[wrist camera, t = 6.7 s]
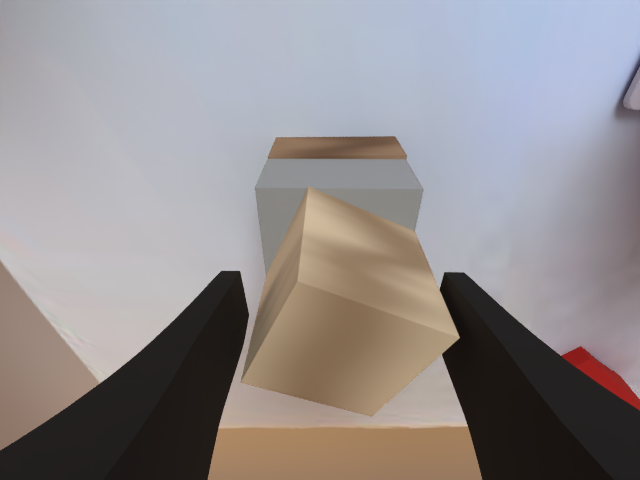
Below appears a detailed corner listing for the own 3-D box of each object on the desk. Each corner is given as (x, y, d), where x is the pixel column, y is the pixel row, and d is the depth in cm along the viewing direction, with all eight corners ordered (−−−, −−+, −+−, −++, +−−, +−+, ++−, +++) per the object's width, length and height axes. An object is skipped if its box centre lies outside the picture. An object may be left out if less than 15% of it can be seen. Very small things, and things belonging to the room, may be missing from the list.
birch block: (414, 231, 12) (460, 337, 8) (358, 305, 14) (371, 416, 10) (308, 186, 11) (297, 281, 7) (266, 273, 13) (240, 382, 9)
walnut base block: (394, 134, 16) (406, 155, 13) (382, 233, 19) (391, 263, 17) (276, 136, 16) (267, 156, 14) (285, 233, 19) (280, 264, 17)
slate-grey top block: (405, 159, 14) (423, 189, 11) (388, 266, 17) (399, 307, 14) (268, 158, 14) (255, 187, 11) (278, 265, 17) (270, 305, 15)
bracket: (617, 372, 27) (646, 408, 24) (563, 396, 29) (585, 430, 27) (577, 343, 25) (605, 378, 22) (523, 370, 27) (542, 405, 25)
